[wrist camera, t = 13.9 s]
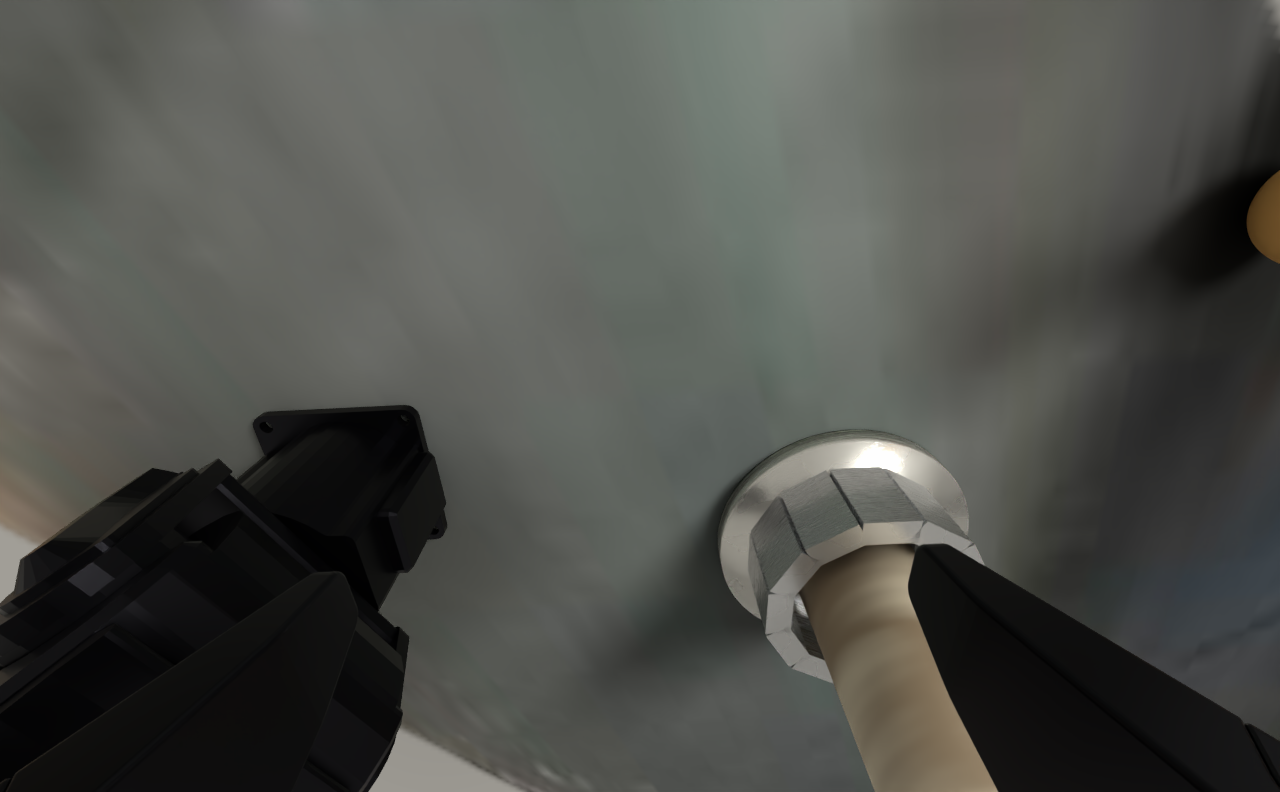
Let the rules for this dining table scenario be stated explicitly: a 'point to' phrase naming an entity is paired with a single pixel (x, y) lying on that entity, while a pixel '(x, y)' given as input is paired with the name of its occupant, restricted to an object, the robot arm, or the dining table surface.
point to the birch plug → (889, 675)
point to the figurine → (1266, 219)
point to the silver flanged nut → (830, 523)
